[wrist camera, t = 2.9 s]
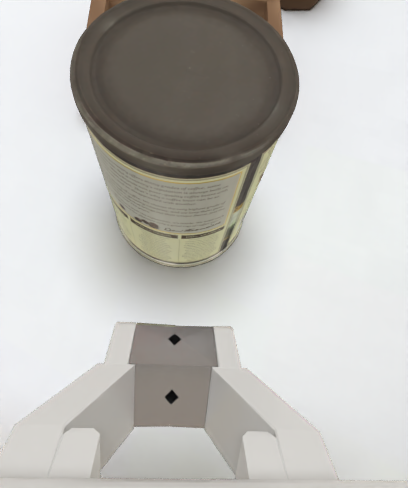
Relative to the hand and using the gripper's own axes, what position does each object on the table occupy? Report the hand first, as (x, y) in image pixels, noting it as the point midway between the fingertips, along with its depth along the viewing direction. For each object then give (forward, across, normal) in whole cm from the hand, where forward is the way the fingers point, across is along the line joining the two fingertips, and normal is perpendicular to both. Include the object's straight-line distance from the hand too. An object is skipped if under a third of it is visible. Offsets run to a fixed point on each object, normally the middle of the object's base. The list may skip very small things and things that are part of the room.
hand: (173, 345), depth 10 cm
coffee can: (+21, 0, +3) cm, 21 cm away
